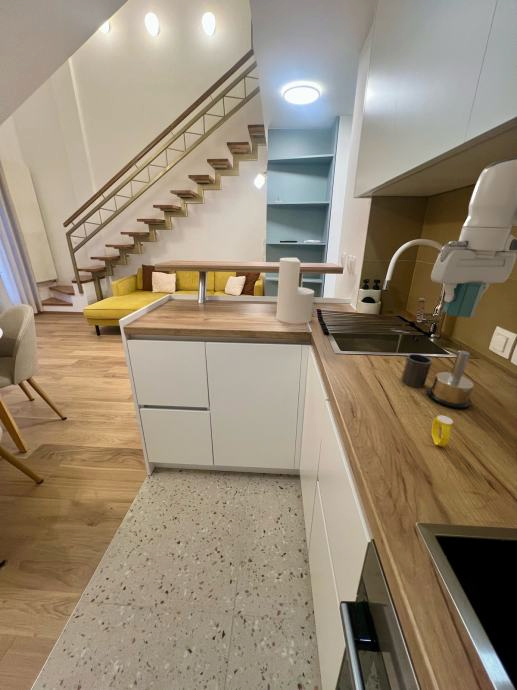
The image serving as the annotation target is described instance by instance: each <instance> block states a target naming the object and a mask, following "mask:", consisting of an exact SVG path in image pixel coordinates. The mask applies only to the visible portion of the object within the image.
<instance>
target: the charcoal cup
mask: <svg viewBox="0 0 517 690" xmlns="http://www.w3.org/2000/svg"><path fill="white" fill-rule="evenodd" d="M432 363H433V360H432V359H431V358H430V357H427V356H425V355H423V354H417V353H412V354H410V353H409V354H407V355H406V360H405V362H404V367H403V371H402V375H401V378H400V379H401V380H400V381H401V382H402V383H403V384H404V385H406V386H407V387H410V388H414V389H422V388H424V387H425V385H426V383H427V379H428V376H429V373H430V371H431V366H432Z"/></svg>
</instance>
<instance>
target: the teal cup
mask: <svg viewBox="0 0 517 690" xmlns="http://www.w3.org/2000/svg"><path fill="white" fill-rule="evenodd" d="M483 288H484V283H461V284H457V286H456V288H454V295H457V296H456V298H455V301H454V302H446V301H444V305H443V308H442V312H443V313H445V314H447V315H450V316H453V317H459V318H472V317H475V313H476V311H477V308H478V305H479V303H480V301H481V299H480V297H481V298H482V296H481V294H482V291H483ZM482 295H483V294H482ZM479 300H480V301H479Z"/></svg>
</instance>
